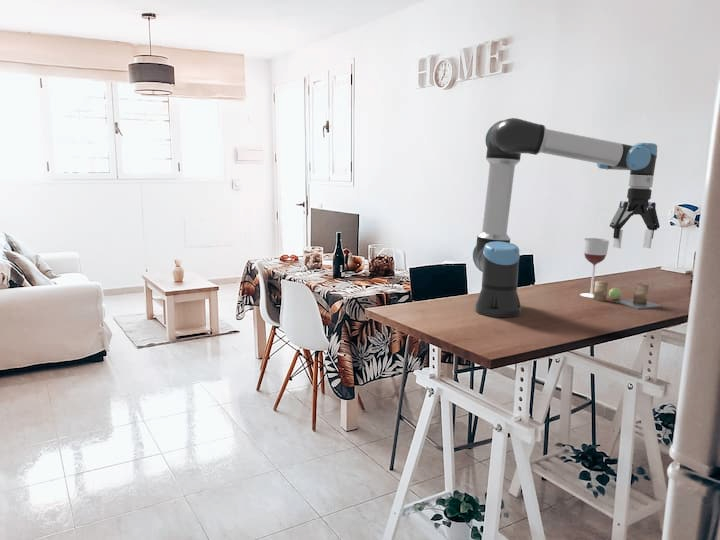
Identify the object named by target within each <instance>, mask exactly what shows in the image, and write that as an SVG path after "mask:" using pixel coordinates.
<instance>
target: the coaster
mask: <svg viewBox="0 0 720 540" xmlns="http://www.w3.org/2000/svg"><path fill="white" fill-rule="evenodd" d="M633 300H634V298H632V299H617V300H614V302H615V303H616V304H620V305H623V306H626V307H630V308H632V309H636V310H646V309H659V308H661V309H662V307H663V305H661V304H658V303H654V302H651V301H649V300H647V304H645V305H641V304H635V303H633Z"/></svg>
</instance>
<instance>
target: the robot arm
mask: <svg viewBox="0 0 720 540" xmlns="http://www.w3.org/2000/svg"><path fill="white" fill-rule="evenodd" d="M484 141H485V146H486V154H485V155H486V157H485V158H486V161H487V162H488V163H489V166H488V167H489V169H488V175H487V176H488V177H487V188H486V195H485V203H484V204H485V205H484V212H483V213H484V214H483V223H482V228H481V229H482V230H481V232H480V233H478V234H477V237H476V245H475V247H474V249H473V251H472V261H473V264H474V265H475V268H477V269H478V270H479V271H480V272H482V278H481V281H482V282H481V290H480V291H479V294H478V297H477V300H476V302H475V307H474V308H475V309H474V310H475V312H476V313H478V314H481V315H483V316H487V317H494V318H496V317H497V318H515V317H517V316H520V315H521V314H522V313H521V312H522V306H521V302H520V298H519V294H518V282H519V281H518V279H519V278H518V277H519V265H520V257H521V255H520V248H519V247H518V246H517V245H516V244H514V243H511V238H510V236H509V235H508V233H507V232H508V226H509V225H508V224H509V217H510V216H509V215H510V210H511V209H510V207H511V200H512V199H511V198H512V191H513V183H514V177H515V176H514V174H515V170H516V169H515V168H516V165H517V164H518V163H520V161H521V157H522V156H521V155H522V154H529V155H536V156H537V155H539V154H540V153H542V154H547V155H551V156H556V157H561V158H562V157H563V158H568V159H572V160H578V161H584V162H588V163H589V162H590V163H595V164H596V166H597V168H599V169H600V170H602V169H603V170H616V171H617V170H618V171H620V170H621V171H622V170H623V171H629V178H628V179H629V180H628V187H629V188H628V189H627V196H626V198H627V201H626V200H621V201H620V203H619V206H618V208H617V210H616V211H615V214H614V216H613V218H612V220H611V222H610V223H609V228H611V229H613V237H612V238H613V245H612V248H616V249H621V247H622V238H623V229H622V228H623V227H624V226H625V224H626V223H627V222H628V220H630V218H631V217H633V216H634V215H639V216H641V218H642V220H643V223H644V224H645V226H646V229H645V231H644V236H643V237H644V238H643V244H642V247H643V248H646V249H651V247H652V242H653V241H652V240H653V238H654V232H655V231H657V230H658V229H659V228H660V222H659V217H658V214H657V210H656V207H657V206H656V204H657V203H656V202H653V201H649V200H651V198H652V188H653V182H654V177H655V169H656V164H657V163H656V161H657V157H658V145H657V144H656V143H652V142H636V143H634V145H631V144H630V145H629V144H624V143H619V142H614V141H610V140H609V141H608V140H604V139H599V138H593V137H589V136H584V135H579V134H574V133H568V132H564V131H559V130H558V131H557V130H554V129H553V130H552V129H548V128H547V127H546V125H544V124H539V123H535V122H532V121H528V120H525V119H521V118H517V117H516V118H515V117H512V118H507V119H504V120H499V121H497V122H495V123H493V124H492V125H491V126H490V128H489V129H488V130H487V133H486V134H485V140H484ZM650 188H651V189H650Z"/></svg>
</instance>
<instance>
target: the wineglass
mask: <svg viewBox="0 0 720 540" xmlns="http://www.w3.org/2000/svg"><path fill="white" fill-rule="evenodd" d="M609 245H610V240H609V239H606V238H597V237H596V238H595V237H593V238H592V237H589V238H587V237H585V238H583V255H584V258H585V260H587V261H588V262H589V263H591V264H592V270H591V271H592V272H591V282H590V292H584V293H580V294H579V296H581V297H585V298H591V299H594V285H595V272H596V265H597V264H600V263H601V262H603V261H604V260H605V259H606V257H607V254H608V249H609Z"/></svg>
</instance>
